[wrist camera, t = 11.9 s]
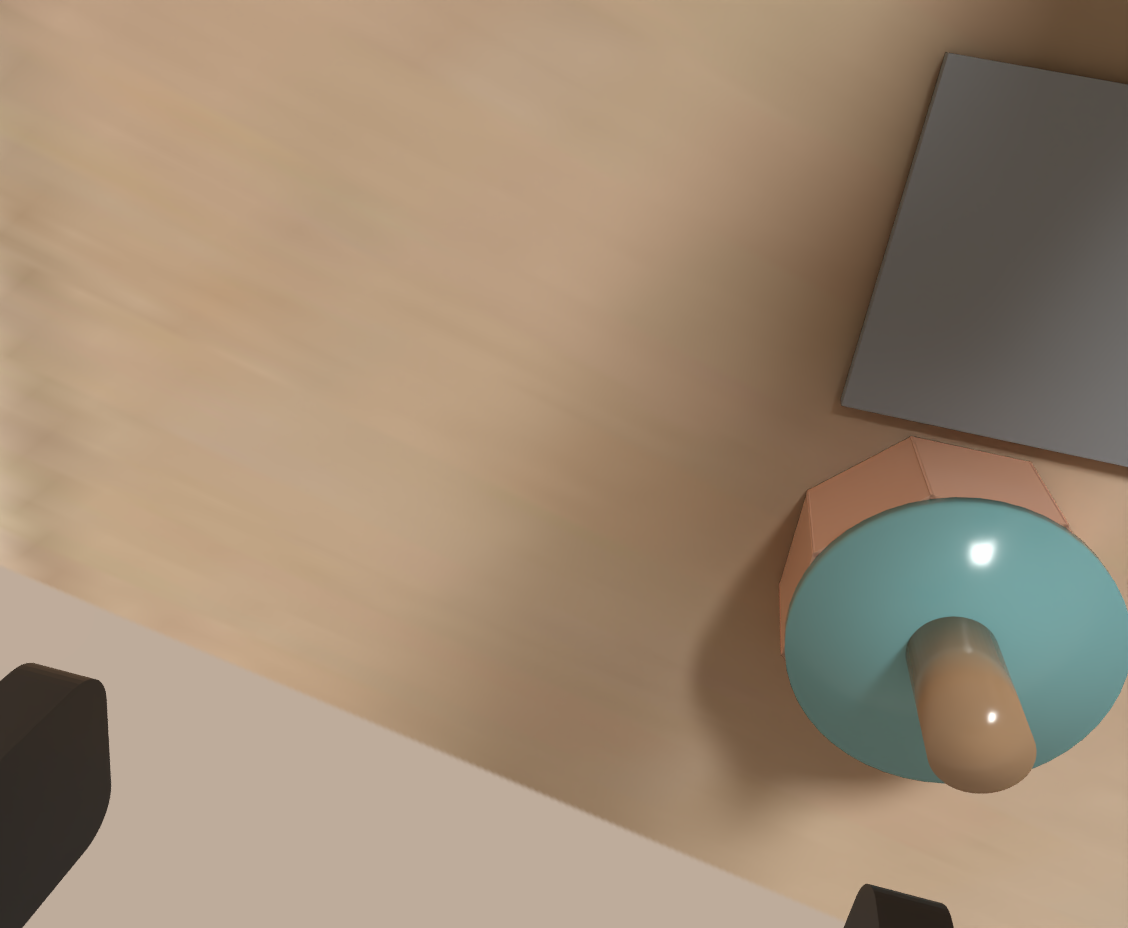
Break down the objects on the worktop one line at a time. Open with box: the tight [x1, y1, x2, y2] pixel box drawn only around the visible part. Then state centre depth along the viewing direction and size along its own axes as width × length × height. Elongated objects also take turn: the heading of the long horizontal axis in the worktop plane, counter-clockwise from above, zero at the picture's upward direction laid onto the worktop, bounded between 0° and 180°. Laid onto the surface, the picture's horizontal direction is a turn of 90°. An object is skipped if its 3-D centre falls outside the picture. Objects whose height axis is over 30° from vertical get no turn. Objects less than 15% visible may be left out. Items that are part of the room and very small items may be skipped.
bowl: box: [779, 436, 1072, 661], centre depth 36 cm, size 10×10×5 cm
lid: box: [784, 497, 1128, 793], centre depth 31 cm, size 11×11×6 cm
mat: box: [841, 52, 1128, 467], centre depth 33 cm, size 12×12×1 cm
